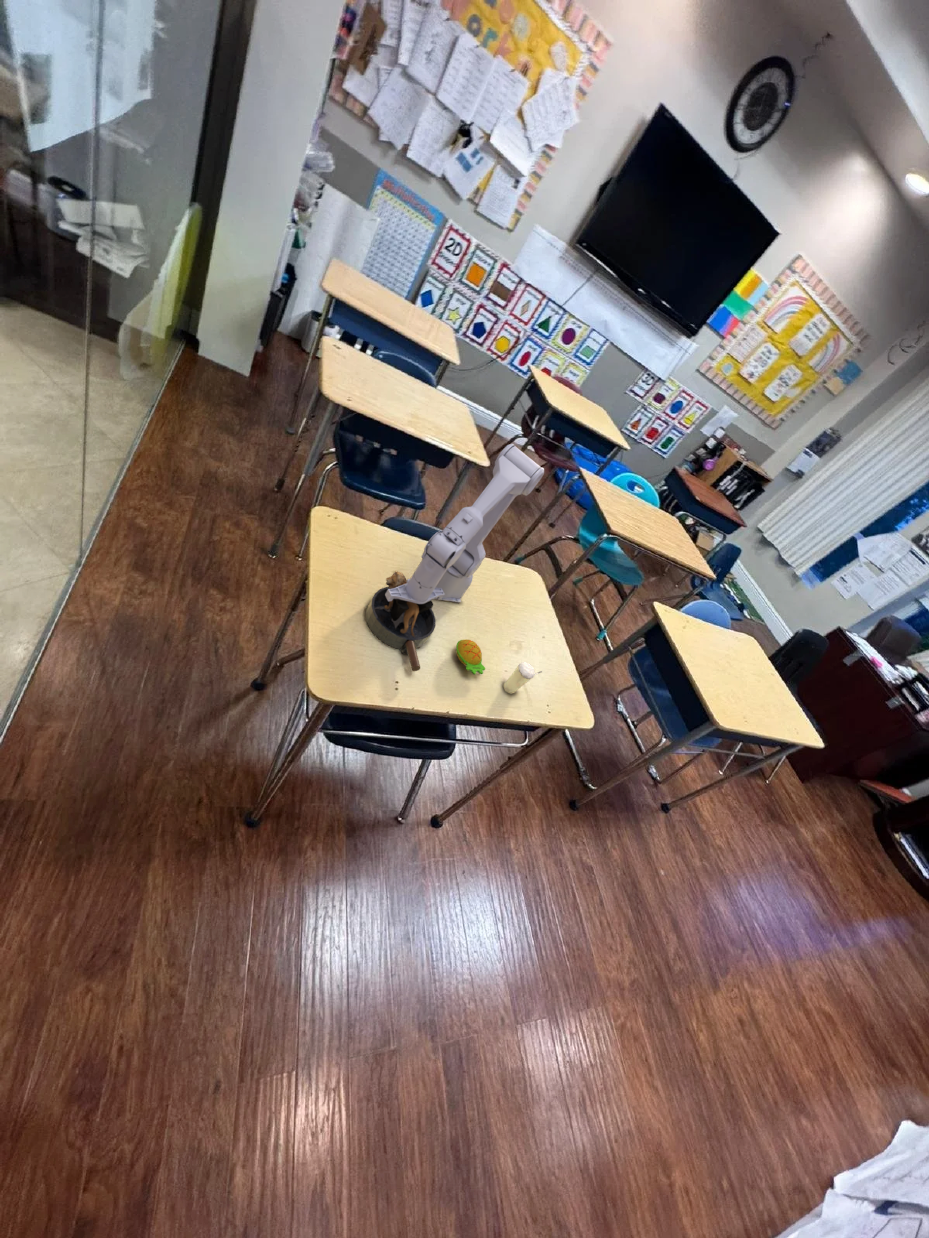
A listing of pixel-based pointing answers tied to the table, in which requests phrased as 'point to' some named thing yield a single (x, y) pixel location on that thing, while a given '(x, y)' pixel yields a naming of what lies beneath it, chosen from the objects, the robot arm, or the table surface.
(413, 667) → the pan handle
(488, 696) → the table surface
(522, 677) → the milkshake
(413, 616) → the lion figurine
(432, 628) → the pan
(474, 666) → the toy pineapple
